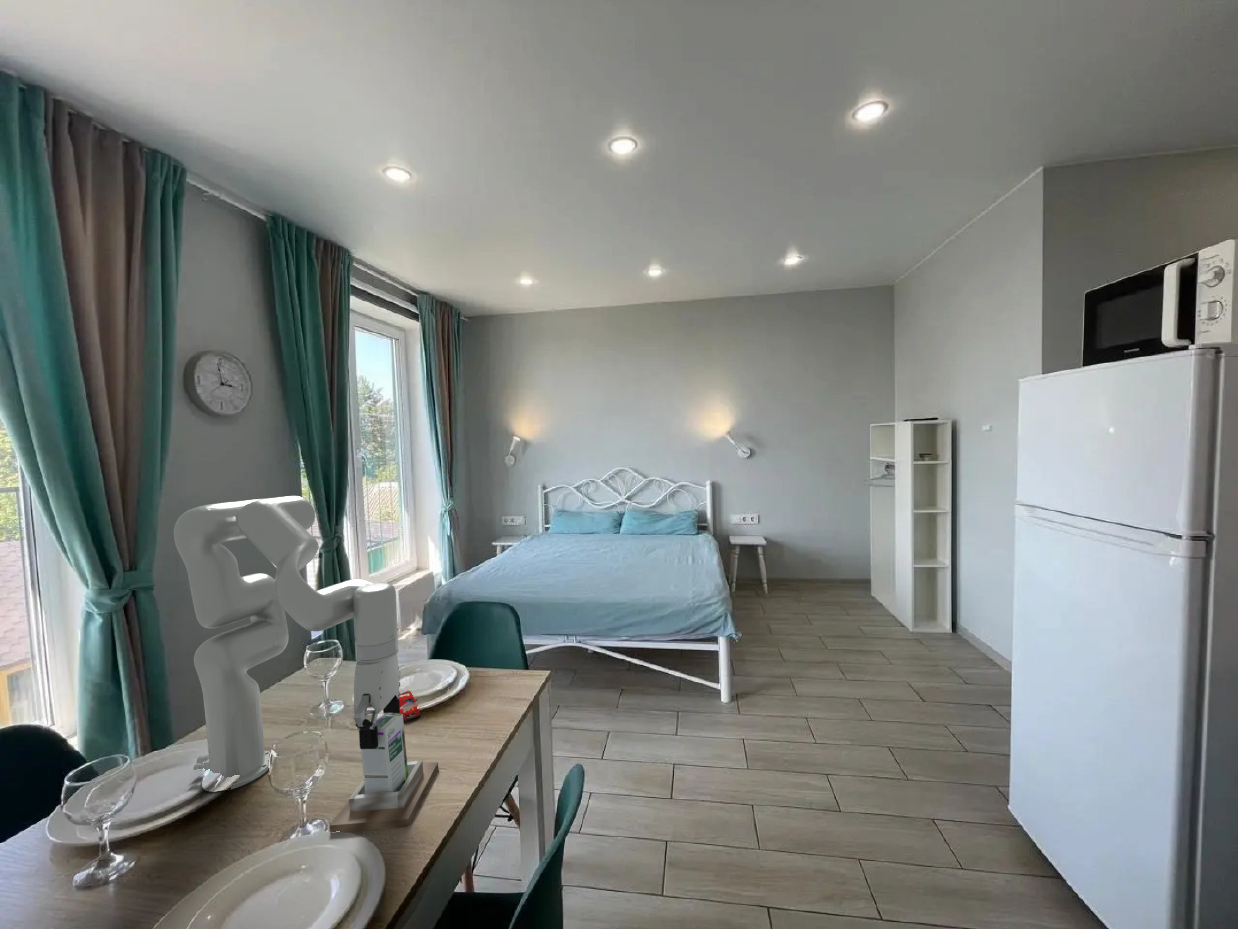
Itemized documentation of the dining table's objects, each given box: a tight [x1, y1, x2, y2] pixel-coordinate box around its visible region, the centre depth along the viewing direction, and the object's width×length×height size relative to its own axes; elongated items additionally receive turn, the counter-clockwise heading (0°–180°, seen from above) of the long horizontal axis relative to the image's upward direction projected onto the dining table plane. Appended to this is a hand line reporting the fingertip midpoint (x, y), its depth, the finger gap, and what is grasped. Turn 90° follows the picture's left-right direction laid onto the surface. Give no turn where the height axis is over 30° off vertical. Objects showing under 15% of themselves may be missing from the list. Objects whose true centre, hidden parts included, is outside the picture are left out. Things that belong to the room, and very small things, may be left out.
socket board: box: [329, 760, 439, 833], centre depth 96 cm, size 14×16×4 cm
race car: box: [397, 690, 421, 722], centre depth 129 cm, size 13×5×4 cm, turn 32°
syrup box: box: [360, 712, 408, 794], centre depth 95 cm, size 6×6×14 cm
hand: (381, 732), depth 95 cm, fingers open, 9 cm apart
